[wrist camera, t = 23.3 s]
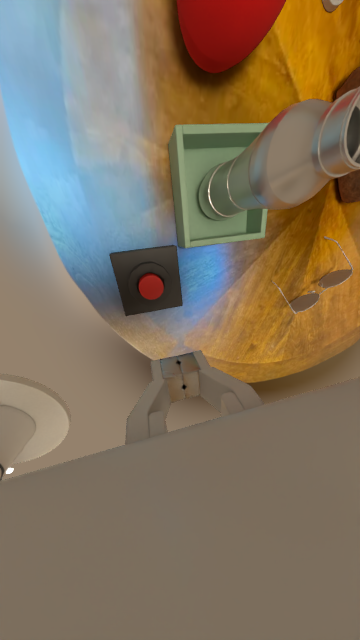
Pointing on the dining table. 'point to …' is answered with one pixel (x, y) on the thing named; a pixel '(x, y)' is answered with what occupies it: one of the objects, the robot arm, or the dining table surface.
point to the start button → (151, 286)
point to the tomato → (225, 29)
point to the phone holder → (331, 4)
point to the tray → (191, 168)
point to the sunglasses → (325, 282)
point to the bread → (356, 182)
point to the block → (143, 262)
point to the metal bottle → (287, 159)
